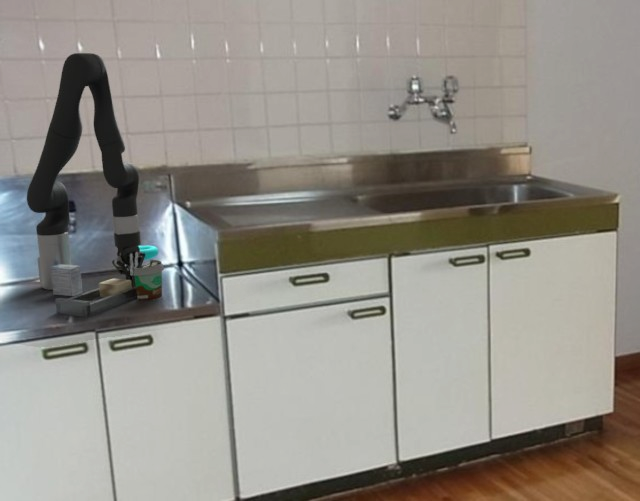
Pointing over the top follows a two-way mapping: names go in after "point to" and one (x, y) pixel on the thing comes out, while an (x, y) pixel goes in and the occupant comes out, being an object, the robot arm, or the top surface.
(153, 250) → the donuts
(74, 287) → the medicine box
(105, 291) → the beech block
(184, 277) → the top surface
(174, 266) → the top surface
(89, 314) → the chute
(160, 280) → the food container
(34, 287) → the top surface
